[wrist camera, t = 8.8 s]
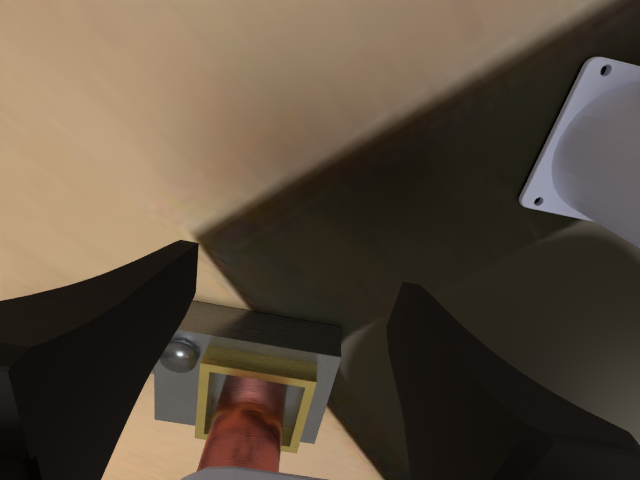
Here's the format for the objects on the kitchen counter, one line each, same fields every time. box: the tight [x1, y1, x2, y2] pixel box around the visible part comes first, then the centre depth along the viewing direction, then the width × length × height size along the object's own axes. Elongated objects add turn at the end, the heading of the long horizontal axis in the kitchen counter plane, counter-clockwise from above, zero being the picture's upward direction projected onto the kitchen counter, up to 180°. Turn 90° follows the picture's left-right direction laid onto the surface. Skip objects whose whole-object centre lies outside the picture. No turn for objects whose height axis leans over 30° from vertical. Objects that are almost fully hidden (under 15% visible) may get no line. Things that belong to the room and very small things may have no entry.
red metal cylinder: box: [197, 375, 286, 472], centre depth 21 cm, size 4×4×8 cm
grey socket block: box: [151, 301, 341, 453], centre depth 25 cm, size 14×9×4 cm, turn 78°
